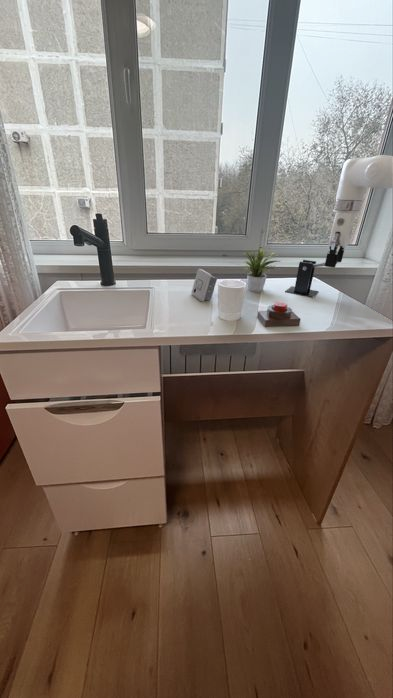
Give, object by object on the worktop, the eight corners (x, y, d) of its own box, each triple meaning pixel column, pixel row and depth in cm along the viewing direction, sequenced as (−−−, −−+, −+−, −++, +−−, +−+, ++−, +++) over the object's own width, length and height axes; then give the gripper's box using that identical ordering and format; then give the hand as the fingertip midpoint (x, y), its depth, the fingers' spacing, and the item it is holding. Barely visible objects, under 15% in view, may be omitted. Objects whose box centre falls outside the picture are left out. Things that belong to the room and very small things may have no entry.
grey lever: (338, 264, 97) (338, 257, 96) (335, 267, 93) (335, 260, 92) (305, 269, 103) (304, 262, 102) (301, 272, 100) (300, 265, 99)
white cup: (210, 316, 85) (212, 283, 80) (226, 309, 90) (229, 278, 85) (232, 324, 80) (235, 289, 75) (247, 316, 85) (251, 283, 80)
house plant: (252, 301, 97) (258, 251, 89) (226, 290, 107) (230, 244, 99) (281, 294, 104) (289, 248, 96) (254, 285, 114) (260, 242, 106)
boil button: (283, 307, 82) (284, 301, 81) (288, 312, 79) (289, 306, 78) (271, 307, 82) (272, 302, 81) (275, 312, 79) (276, 306, 78)
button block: (289, 316, 86) (291, 304, 84) (299, 326, 80) (302, 312, 78) (257, 317, 85) (258, 304, 83) (264, 327, 79) (266, 313, 77)
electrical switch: (190, 294, 103) (193, 268, 98) (203, 294, 105) (207, 268, 100) (201, 302, 95) (204, 274, 91) (214, 302, 97) (218, 275, 93)
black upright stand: (318, 294, 106) (325, 261, 100) (312, 300, 100) (320, 265, 94) (291, 289, 110) (297, 257, 105) (284, 294, 105) (290, 261, 99)
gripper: (356, 208, 79) (339, 270, 87) (364, 206, 91) (349, 261, 100) (327, 207, 82) (314, 267, 91) (339, 205, 95) (327, 258, 103)
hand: (333, 264), depth 95 cm, fingers open, 9 cm apart
